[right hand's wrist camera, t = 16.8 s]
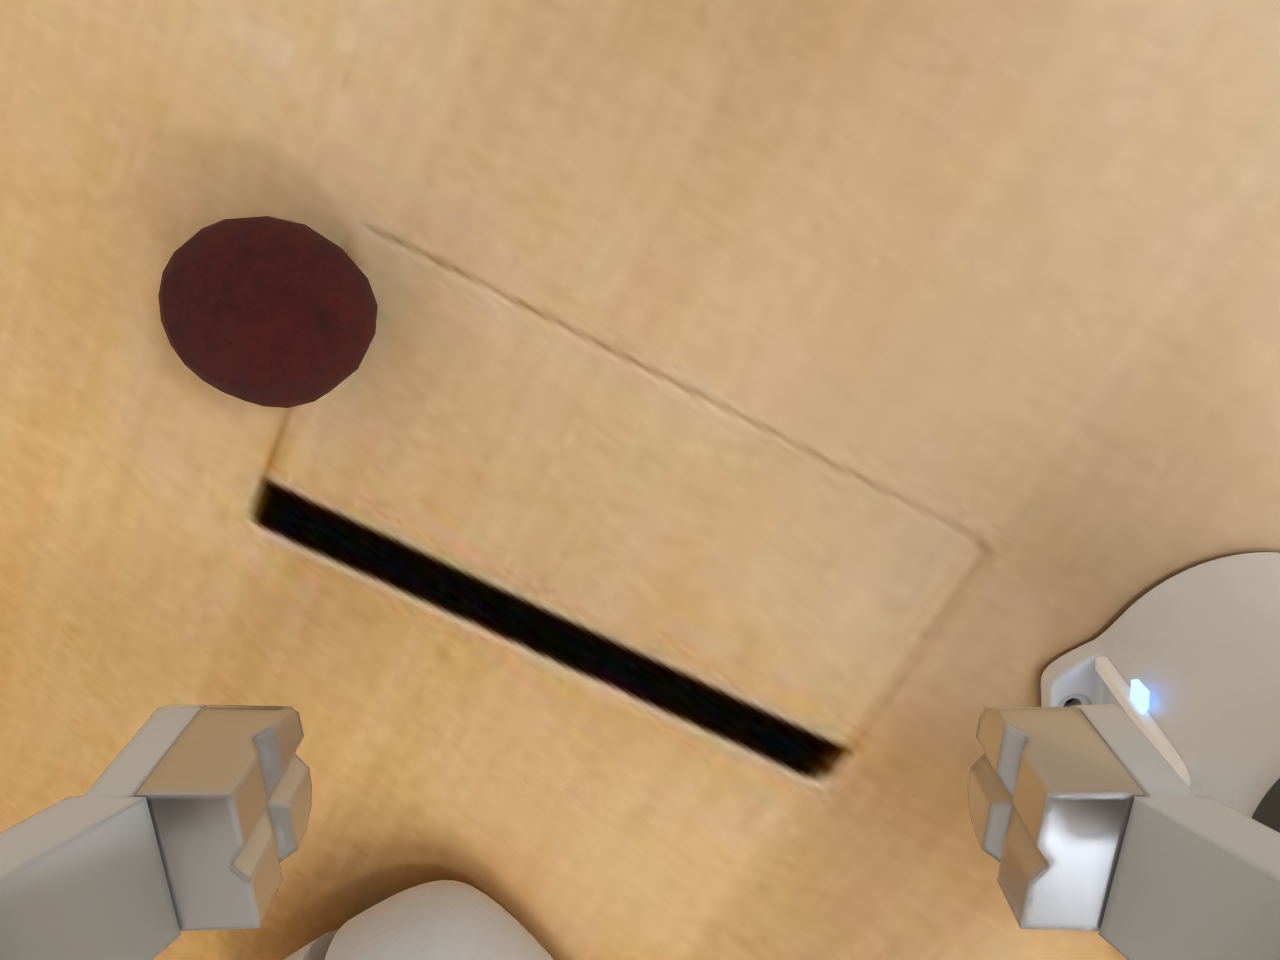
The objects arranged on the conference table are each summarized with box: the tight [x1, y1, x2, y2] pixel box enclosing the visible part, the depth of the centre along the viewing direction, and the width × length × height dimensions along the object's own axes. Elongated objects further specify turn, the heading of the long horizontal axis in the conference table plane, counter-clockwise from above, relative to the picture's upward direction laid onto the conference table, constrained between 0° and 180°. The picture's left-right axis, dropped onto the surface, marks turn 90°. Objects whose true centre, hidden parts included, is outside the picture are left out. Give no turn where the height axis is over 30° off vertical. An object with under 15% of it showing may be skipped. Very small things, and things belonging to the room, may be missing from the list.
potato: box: [159, 216, 377, 408], centre depth 35 cm, size 7×8×7 cm
